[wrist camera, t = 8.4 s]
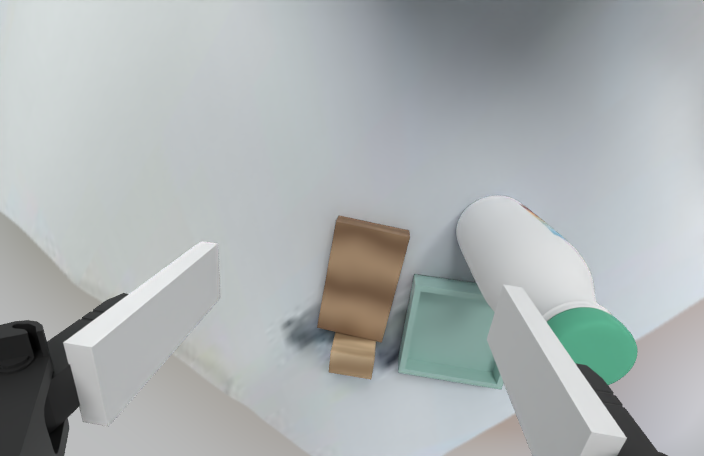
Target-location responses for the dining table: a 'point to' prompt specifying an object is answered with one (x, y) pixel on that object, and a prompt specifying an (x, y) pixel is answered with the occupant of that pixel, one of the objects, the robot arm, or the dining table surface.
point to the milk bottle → (544, 281)
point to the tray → (448, 333)
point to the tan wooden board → (362, 277)
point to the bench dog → (352, 356)
